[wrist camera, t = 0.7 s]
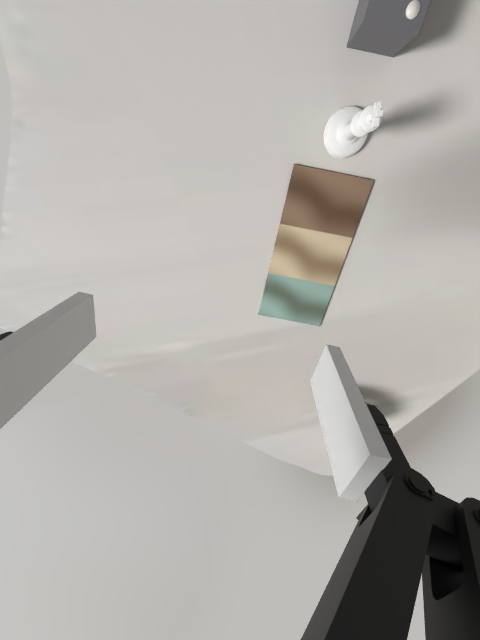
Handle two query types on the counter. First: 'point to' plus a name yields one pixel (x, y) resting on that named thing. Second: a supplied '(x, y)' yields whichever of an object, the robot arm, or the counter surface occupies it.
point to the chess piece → (351, 129)
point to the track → (312, 242)
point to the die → (386, 25)
